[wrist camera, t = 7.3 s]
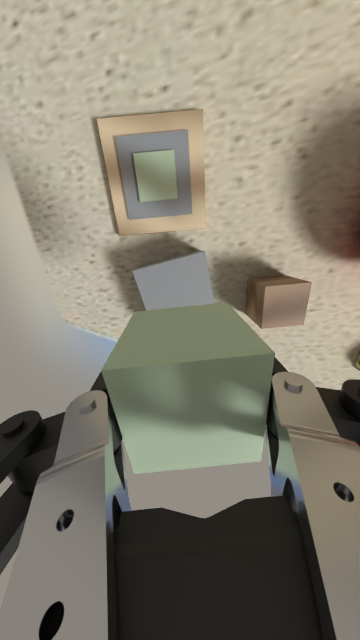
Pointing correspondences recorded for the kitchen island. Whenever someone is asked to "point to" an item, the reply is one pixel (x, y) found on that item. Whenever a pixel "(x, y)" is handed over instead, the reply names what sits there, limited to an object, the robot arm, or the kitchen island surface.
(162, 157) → the tile
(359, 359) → the stuffed eggplant half
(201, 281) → the grey base block
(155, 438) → the sage block
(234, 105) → the kitchen island surface
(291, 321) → the walnut block
